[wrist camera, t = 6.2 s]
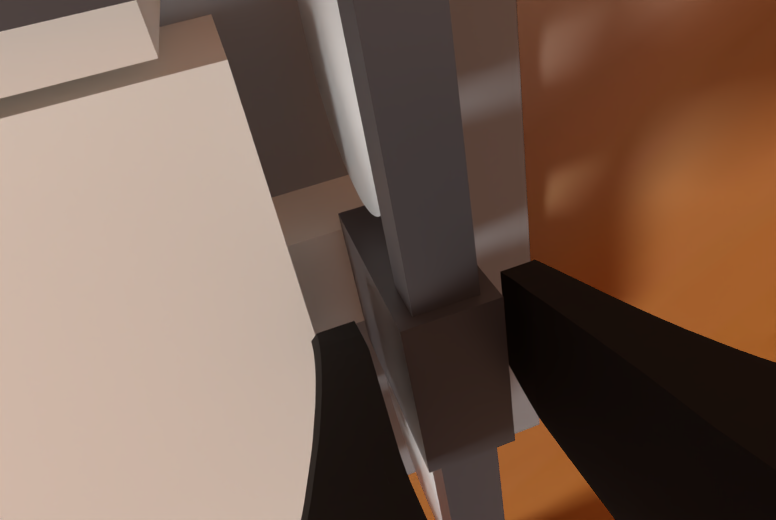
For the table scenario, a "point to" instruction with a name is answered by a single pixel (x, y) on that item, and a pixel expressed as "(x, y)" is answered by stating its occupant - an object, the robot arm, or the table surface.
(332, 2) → the glasses
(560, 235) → the table surface
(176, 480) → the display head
